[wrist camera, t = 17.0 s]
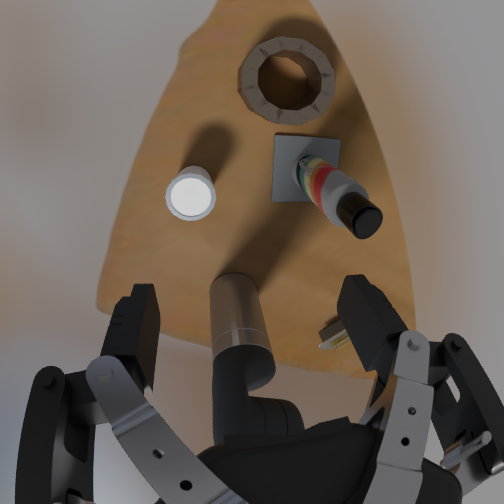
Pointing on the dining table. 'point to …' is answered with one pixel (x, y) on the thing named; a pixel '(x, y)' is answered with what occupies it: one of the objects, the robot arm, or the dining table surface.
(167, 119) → the dining table surface
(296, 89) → the dining table surface
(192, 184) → the white cylinder
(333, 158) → the rubber mat
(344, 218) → the lotion bottle
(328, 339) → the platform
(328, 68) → the collar
